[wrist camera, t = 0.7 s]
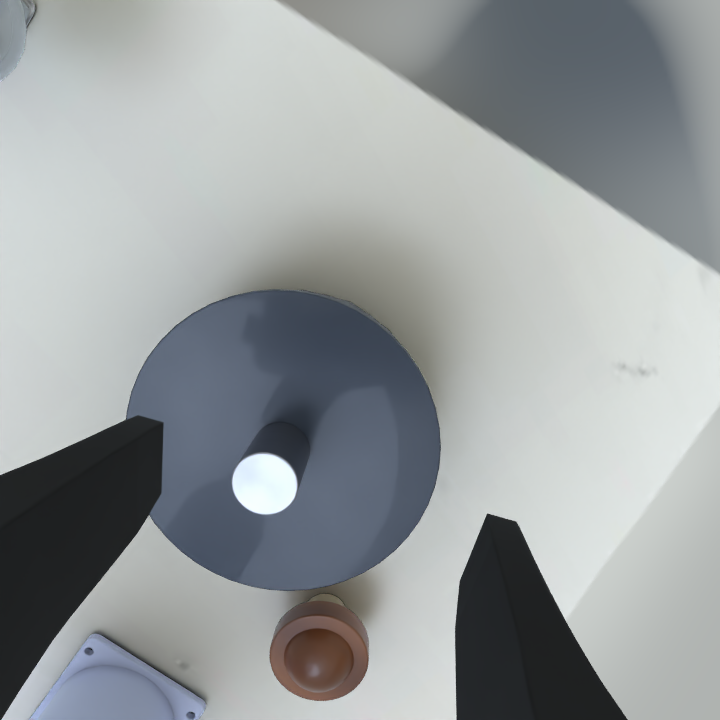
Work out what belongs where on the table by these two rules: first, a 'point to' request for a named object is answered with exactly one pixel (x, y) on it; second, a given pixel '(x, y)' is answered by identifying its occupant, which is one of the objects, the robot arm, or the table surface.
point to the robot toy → (13, 32)
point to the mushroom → (320, 649)
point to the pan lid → (288, 439)
